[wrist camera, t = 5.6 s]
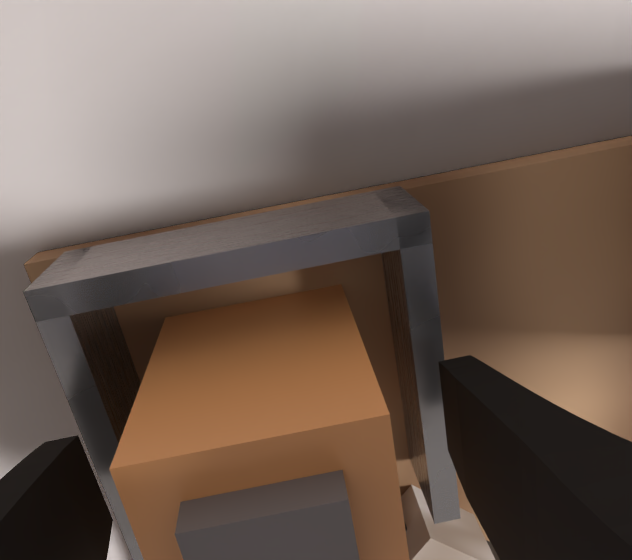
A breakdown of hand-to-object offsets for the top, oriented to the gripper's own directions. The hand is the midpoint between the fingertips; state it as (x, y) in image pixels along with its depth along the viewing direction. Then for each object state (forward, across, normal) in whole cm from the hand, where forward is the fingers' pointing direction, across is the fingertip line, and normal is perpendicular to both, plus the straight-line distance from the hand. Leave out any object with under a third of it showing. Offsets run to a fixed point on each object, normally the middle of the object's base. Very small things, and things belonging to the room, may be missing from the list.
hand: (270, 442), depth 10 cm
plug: (+3, 0, 0) cm, 3 cm away
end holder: (+3, 0, 0) cm, 3 cm away
